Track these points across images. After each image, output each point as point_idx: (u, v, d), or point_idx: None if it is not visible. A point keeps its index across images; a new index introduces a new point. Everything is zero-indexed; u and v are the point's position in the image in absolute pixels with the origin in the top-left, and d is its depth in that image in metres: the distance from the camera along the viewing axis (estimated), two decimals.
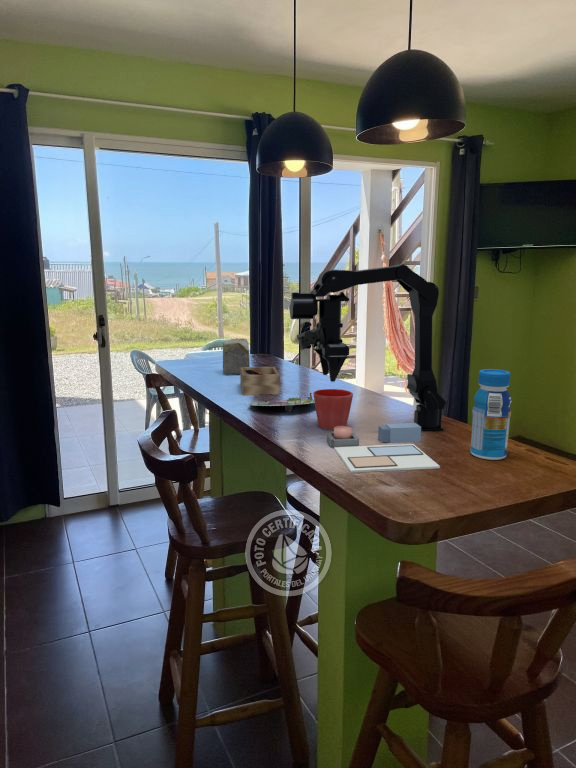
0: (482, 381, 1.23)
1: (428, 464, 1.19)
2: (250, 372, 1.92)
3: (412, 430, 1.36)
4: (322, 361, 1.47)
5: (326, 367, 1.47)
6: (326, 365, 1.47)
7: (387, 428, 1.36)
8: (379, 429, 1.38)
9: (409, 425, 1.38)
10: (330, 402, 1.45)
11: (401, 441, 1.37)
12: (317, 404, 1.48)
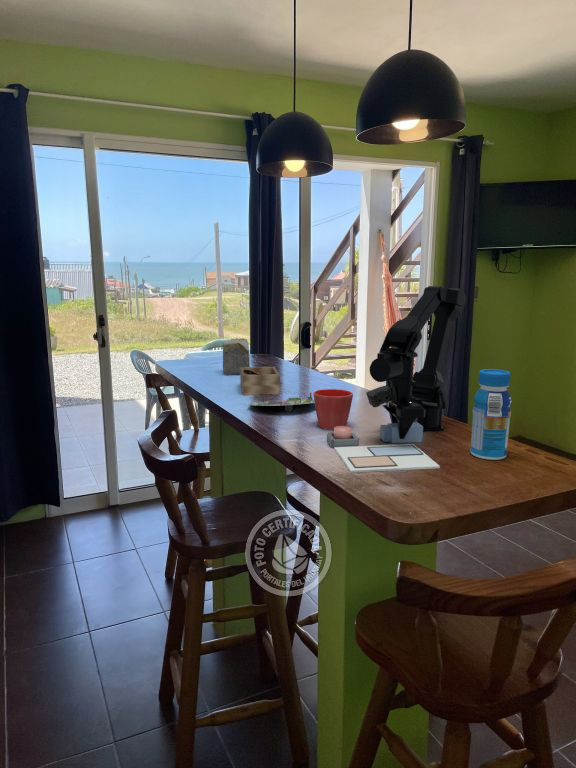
0: (482, 381, 1.23)
1: (428, 464, 1.19)
2: (248, 372, 1.92)
3: (414, 430, 1.36)
4: (393, 419, 1.40)
5: None
6: None
7: (389, 427, 1.36)
8: (381, 428, 1.38)
9: None
10: (330, 402, 1.45)
11: (403, 440, 1.37)
12: (317, 404, 1.48)
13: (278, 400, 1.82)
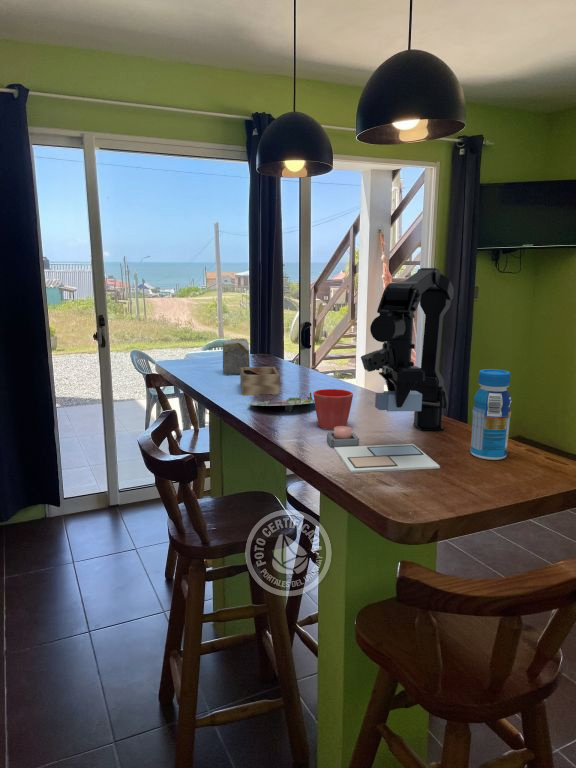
0: (482, 381, 1.23)
1: (428, 464, 1.19)
2: (248, 372, 1.91)
3: (412, 398, 1.25)
4: (390, 387, 1.28)
5: None
6: None
7: (385, 395, 1.25)
8: (376, 396, 1.26)
9: None
10: (330, 402, 1.45)
11: (400, 409, 1.25)
12: (317, 404, 1.48)
13: (278, 400, 1.82)
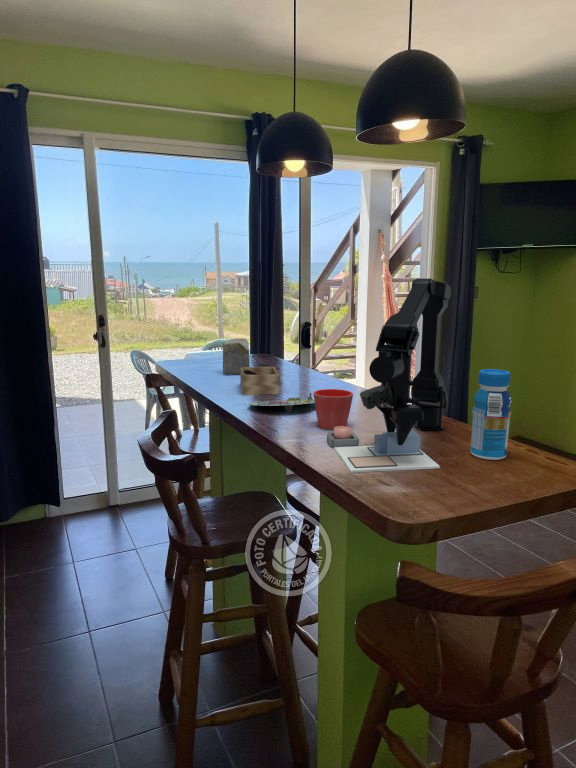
0: (482, 381, 1.23)
1: (428, 464, 1.19)
2: (248, 372, 1.91)
3: (411, 440, 1.26)
4: (387, 421, 1.30)
5: (392, 427, 1.30)
6: (392, 425, 1.30)
7: (384, 437, 1.26)
8: (375, 438, 1.28)
9: None
10: (330, 402, 1.45)
11: (399, 451, 1.26)
12: (317, 404, 1.48)
13: (278, 400, 1.82)
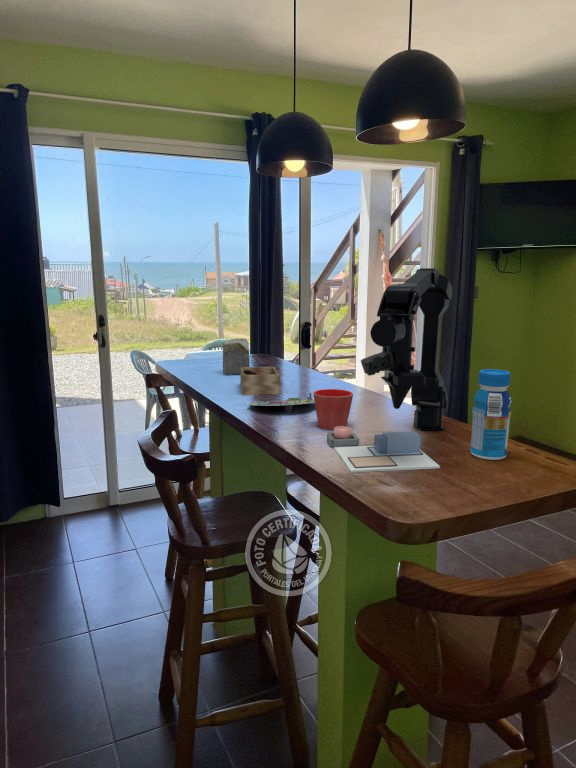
0: (482, 381, 1.23)
1: (428, 464, 1.19)
2: (248, 372, 1.91)
3: (411, 440, 1.26)
4: (393, 392, 1.25)
5: None
6: None
7: (384, 437, 1.26)
8: (375, 438, 1.28)
9: (408, 434, 1.28)
10: (330, 402, 1.45)
11: (399, 451, 1.26)
12: (317, 404, 1.48)
13: None
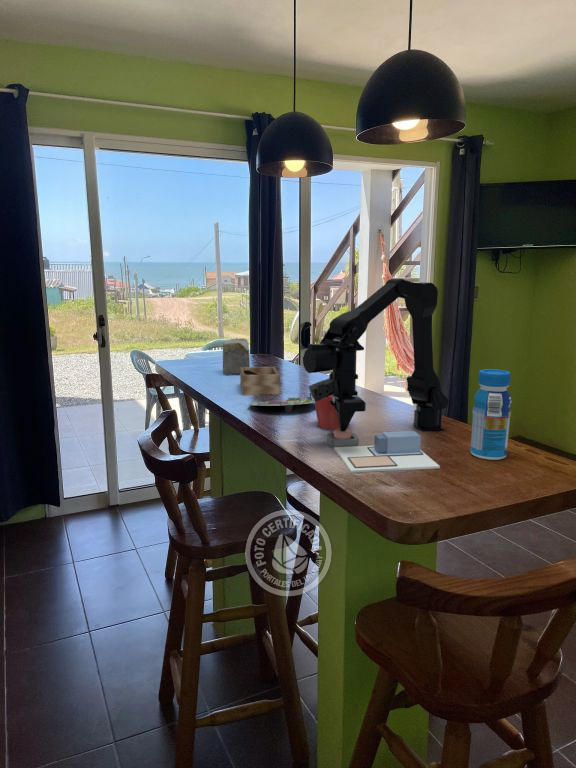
0: (482, 381, 1.23)
1: (428, 464, 1.19)
2: (248, 373, 1.91)
3: (411, 440, 1.26)
4: None
5: None
6: None
7: (384, 437, 1.26)
8: (375, 438, 1.28)
9: (408, 434, 1.28)
10: None
11: (399, 451, 1.26)
12: (317, 404, 1.48)
13: (278, 400, 1.82)
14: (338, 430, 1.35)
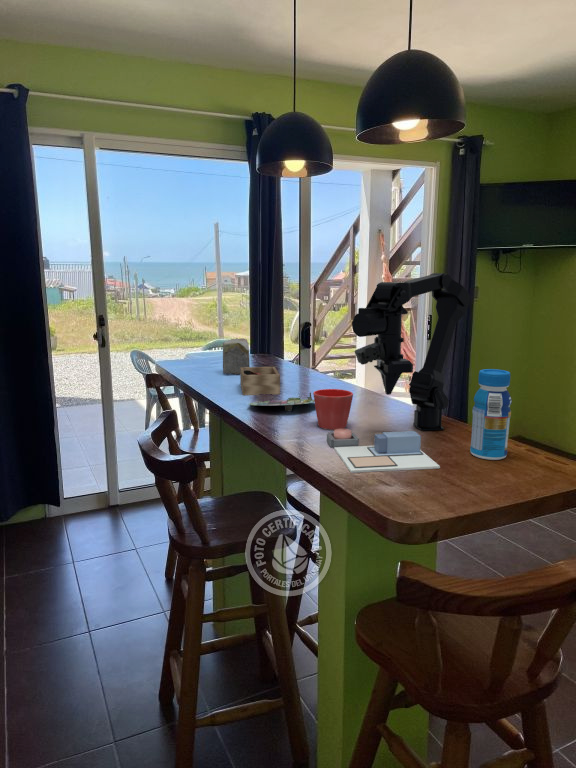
0: (482, 381, 1.23)
1: (428, 464, 1.19)
2: (248, 373, 1.90)
3: (411, 440, 1.26)
4: None
5: None
6: None
7: (384, 437, 1.26)
8: (375, 438, 1.28)
9: (408, 434, 1.28)
10: (330, 402, 1.45)
11: (399, 451, 1.26)
12: (317, 404, 1.48)
13: (278, 400, 1.82)
14: (338, 430, 1.35)
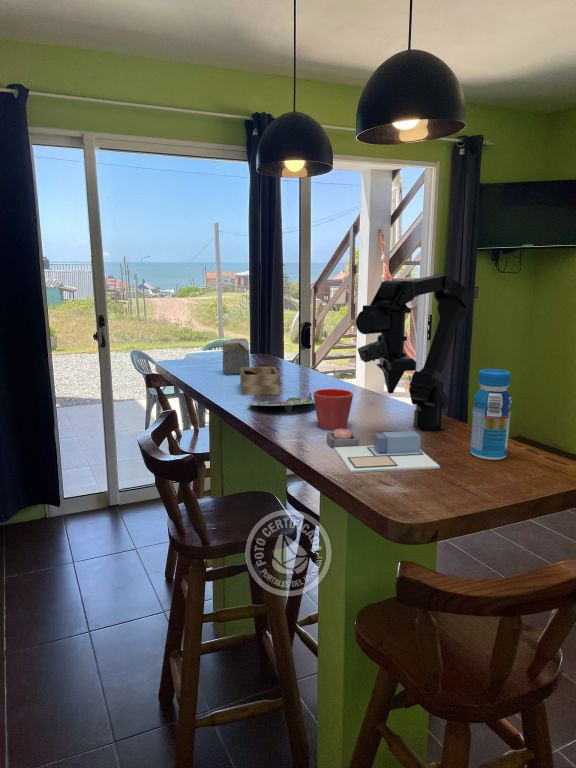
0: (482, 381, 1.23)
1: (428, 464, 1.19)
2: (248, 373, 1.90)
3: (411, 440, 1.26)
4: (387, 378, 1.37)
5: None
6: None
7: (384, 437, 1.26)
8: (375, 438, 1.28)
9: (408, 434, 1.28)
10: (330, 402, 1.45)
11: (399, 451, 1.26)
12: (317, 404, 1.48)
13: (278, 400, 1.82)
14: (338, 430, 1.35)
